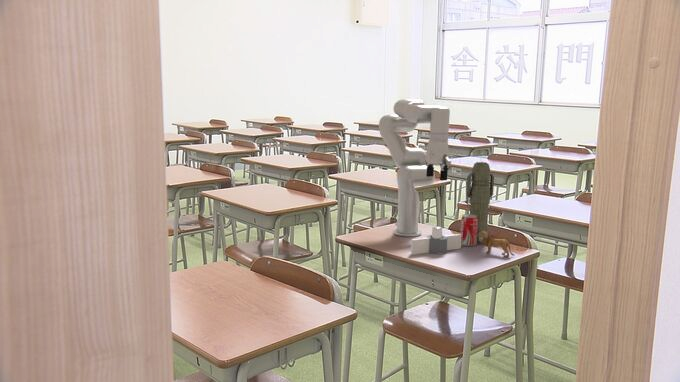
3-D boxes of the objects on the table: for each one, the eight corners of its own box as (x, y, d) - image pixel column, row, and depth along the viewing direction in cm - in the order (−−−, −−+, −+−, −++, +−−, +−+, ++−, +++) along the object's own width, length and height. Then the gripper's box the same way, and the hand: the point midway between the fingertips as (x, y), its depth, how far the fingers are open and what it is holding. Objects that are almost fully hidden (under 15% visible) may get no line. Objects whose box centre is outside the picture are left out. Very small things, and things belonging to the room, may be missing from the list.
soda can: (475, 243, 248) (477, 214, 246) (477, 247, 241) (479, 217, 239) (458, 242, 249) (460, 213, 247) (460, 246, 242) (462, 217, 240)
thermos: (494, 242, 249) (499, 163, 243) (471, 244, 246) (475, 164, 240) (483, 237, 258) (487, 161, 252) (460, 239, 254) (464, 161, 248)
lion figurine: (476, 253, 233) (477, 231, 231) (479, 250, 237) (480, 229, 236) (513, 258, 226) (514, 236, 225) (515, 255, 231) (517, 233, 229)
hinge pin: (429, 250, 236) (430, 227, 234) (437, 249, 237) (438, 226, 236) (435, 252, 232) (436, 229, 230) (443, 251, 234) (444, 228, 232)
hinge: (406, 251, 233) (406, 237, 232) (454, 245, 244) (454, 232, 242) (417, 256, 226) (417, 242, 225) (465, 250, 236) (466, 236, 235)
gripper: (419, 135, 239) (417, 175, 242) (443, 139, 224) (441, 182, 227) (434, 135, 242) (432, 174, 246) (459, 139, 227) (456, 181, 230)
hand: (436, 178), depth 236 cm, fingers open, 9 cm apart
